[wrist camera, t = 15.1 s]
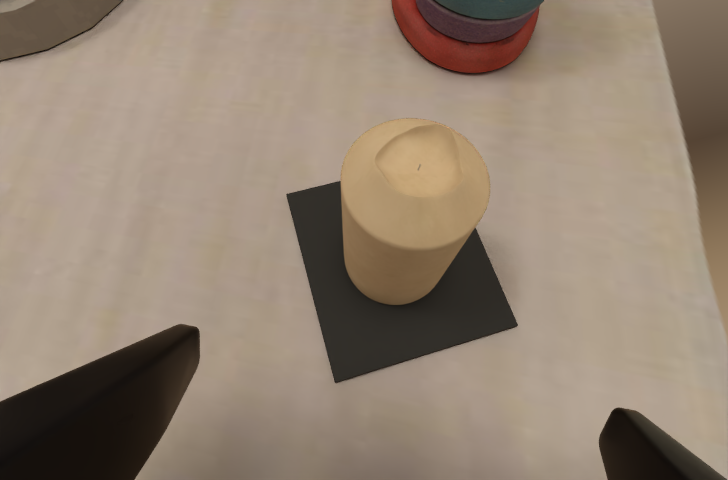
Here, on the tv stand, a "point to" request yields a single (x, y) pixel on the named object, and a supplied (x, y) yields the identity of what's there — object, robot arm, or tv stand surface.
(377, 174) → the candle
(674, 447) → the robot arm
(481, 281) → the mat
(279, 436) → the tv stand surface
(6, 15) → the mechanical component
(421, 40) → the stacking bear
